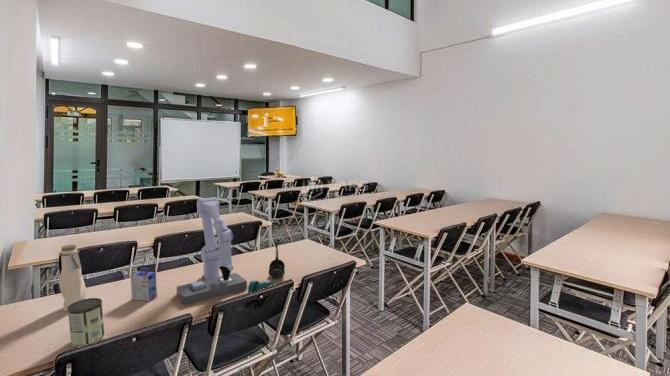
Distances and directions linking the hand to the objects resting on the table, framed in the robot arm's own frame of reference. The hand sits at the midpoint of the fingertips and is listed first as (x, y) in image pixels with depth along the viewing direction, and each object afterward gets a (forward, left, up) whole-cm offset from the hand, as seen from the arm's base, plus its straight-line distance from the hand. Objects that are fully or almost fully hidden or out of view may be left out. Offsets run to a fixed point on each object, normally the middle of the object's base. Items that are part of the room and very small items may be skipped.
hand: (226, 279), depth 172 cm
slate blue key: (0, -14, -2) cm, 14 cm away
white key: (0, 0, -3) cm, 3 cm away
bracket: (+16, +13, -5) cm, 21 cm away
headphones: (+2, +28, -5) cm, 28 cm away
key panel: (0, -7, -4) cm, 8 cm away
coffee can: (+14, -58, -5) cm, 60 cm away
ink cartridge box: (-12, -35, -5) cm, 37 cm away
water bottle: (-20, -61, -5) cm, 64 cm away
